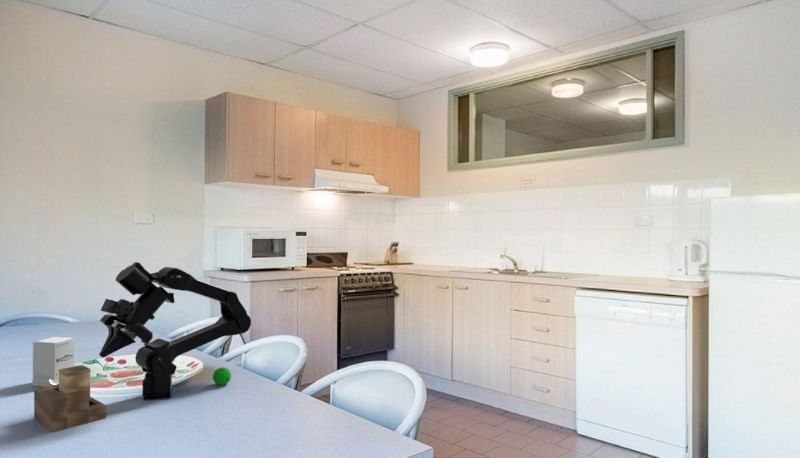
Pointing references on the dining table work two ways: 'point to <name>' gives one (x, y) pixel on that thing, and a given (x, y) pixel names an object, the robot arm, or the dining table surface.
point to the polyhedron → (221, 376)
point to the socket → (65, 408)
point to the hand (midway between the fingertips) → (101, 356)
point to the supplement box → (51, 359)
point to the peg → (74, 379)
